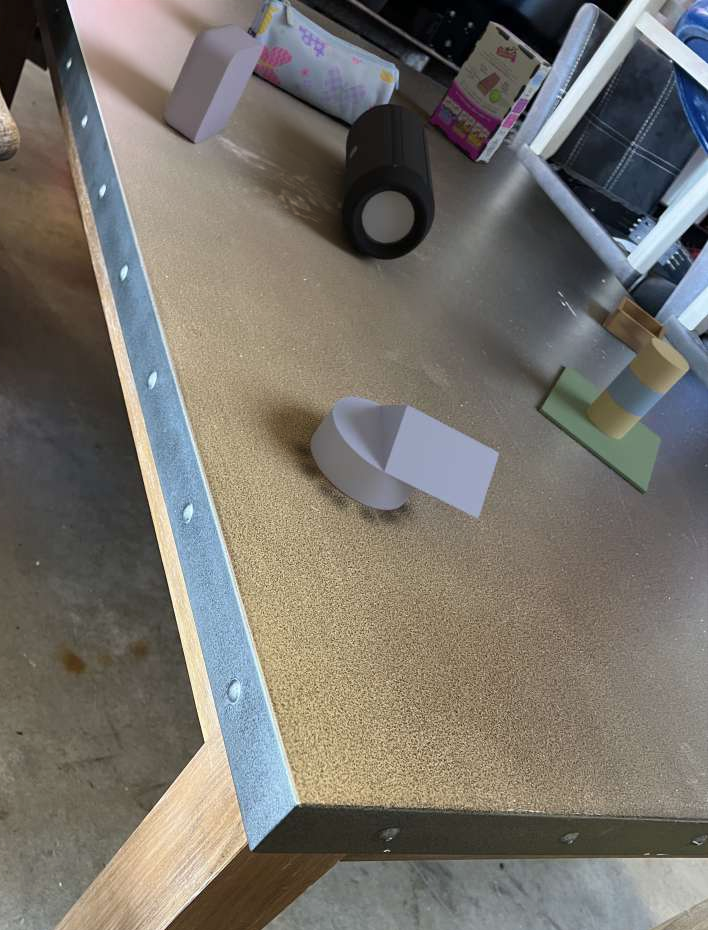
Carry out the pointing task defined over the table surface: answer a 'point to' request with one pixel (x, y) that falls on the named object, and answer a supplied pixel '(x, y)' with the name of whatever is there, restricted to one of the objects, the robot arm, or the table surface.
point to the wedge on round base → (400, 456)
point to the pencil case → (319, 63)
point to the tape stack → (637, 388)
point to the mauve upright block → (212, 81)
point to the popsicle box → (489, 92)
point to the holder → (633, 325)
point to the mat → (622, 455)
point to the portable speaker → (387, 183)
